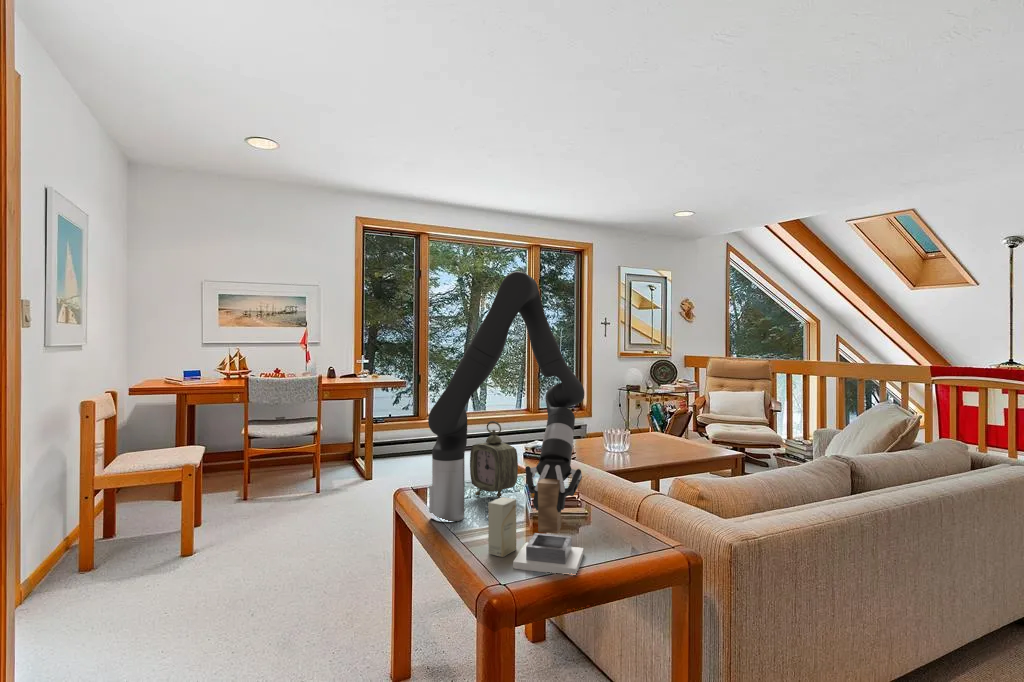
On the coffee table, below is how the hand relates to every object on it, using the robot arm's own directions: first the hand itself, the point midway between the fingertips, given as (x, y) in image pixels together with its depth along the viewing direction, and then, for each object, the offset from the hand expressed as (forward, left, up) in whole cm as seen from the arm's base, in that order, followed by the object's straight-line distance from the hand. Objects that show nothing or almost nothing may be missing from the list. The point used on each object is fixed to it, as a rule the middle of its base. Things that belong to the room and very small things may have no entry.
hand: (548, 509), depth 117 cm
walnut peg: (0, +2, -5) cm, 5 cm away
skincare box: (-12, +5, -13) cm, 18 cm away
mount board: (0, +2, -12) cm, 13 cm away
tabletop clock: (-27, +46, -13) cm, 55 cm away
